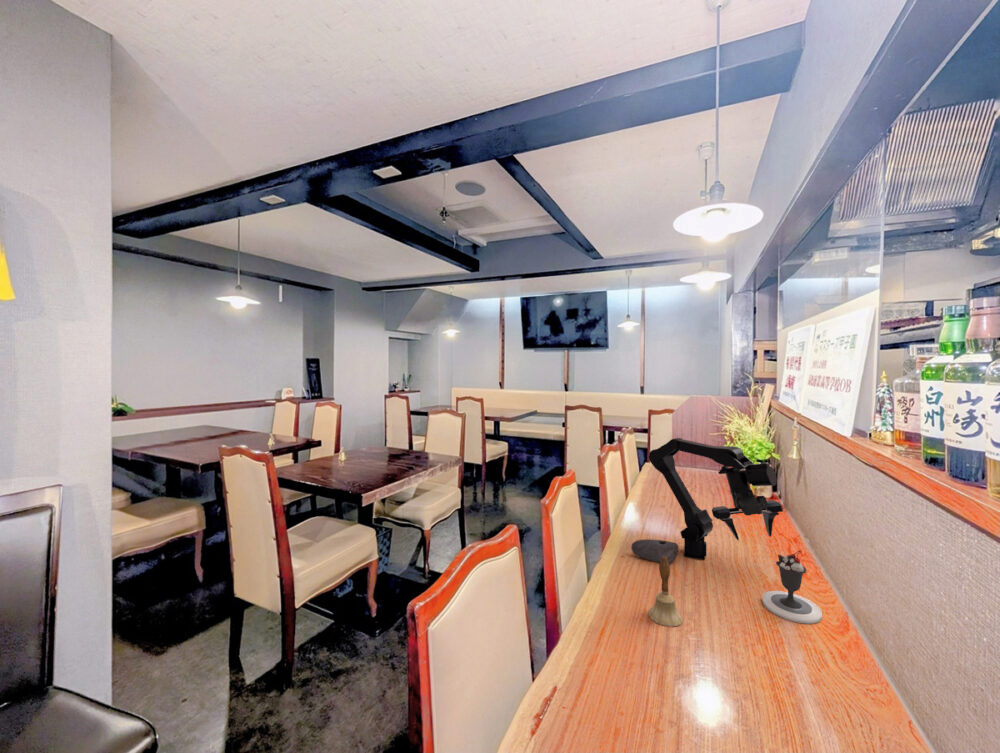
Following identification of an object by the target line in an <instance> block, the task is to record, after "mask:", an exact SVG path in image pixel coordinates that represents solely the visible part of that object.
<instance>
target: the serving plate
mask: <svg viewBox="0 0 1000 753" xmlns="http://www.w3.org/2000/svg"><path fill="white" fill-rule="evenodd" d="M787 597H788V591H783V590H769V591H765V592H764V593H763V594H762V596H761V600H762V604H763V606H764V608H765V609H766V610H768V611H769V612H771V613H772V614H774V615H775V616H776V617H777V616H778V617H779V618H781V619H784V620H787V621H791V622H794V623H798V624H806V625H812V624H817V623H820V622H821V621H822V618H823V617H822V616H823V615H822V614H823V612H822V609H821V608H820V607H819V606H818V605H817V604H815V602H814V601H812V600H809V599H808V598H806V597H804V596H801V595H799V594H795V593H793V597H794V600H796V601H798V602H799V603H800V604H801V605H802V607H801V608H799V609H795V608H790V607H787V606H785V605H783V604H782V603H781V602H780V598H787Z"/></svg>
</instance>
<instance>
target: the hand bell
mask: <svg viewBox="0 0 1000 753" xmlns="http://www.w3.org/2000/svg"><path fill="white" fill-rule="evenodd" d="M659 576H660V578H661V592H659V593H657V594H656V596H655V602H654V605H653V606H652V607H650V609H649V610H648V617H649V616H650V617H649V618H650V619H651V620H652V621H653V622H654V623H656V624H657V623H658V624H657V625H660V626H662V625H664V626H663V627H666V626H676V627H678V626H679V627H680V626H681V624H683V621H684V620H683V617H682V615H681V613H680V612H679V611H678V610H677V607H676V600H675V598H674V596H673V594H670V591H669V590H670V589H669V578H670V576H671V566H670V563H669V562H668V559H667V557H666V556H662V559H661V562H659Z"/></svg>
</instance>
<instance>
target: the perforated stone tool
mask: <svg viewBox="0 0 1000 753" xmlns="http://www.w3.org/2000/svg"><path fill="white" fill-rule="evenodd" d="M631 552H632V553H633V554H634V555H636V556H637V557H639V558H641V559H644V560H645V559H646V560H648V561H653V562H656V563H660V562H661V559H662V556H666V557H667V559H668V562H669V564H672V563H673V562H675V560H676V558H677V557H678V555H679V545H678V544H677V543H676V542H672V541H667V540H663V539H662V540H660V539H650V538H649V539H648V538H647V539H638V540H635V541H634V542H632V544H631Z"/></svg>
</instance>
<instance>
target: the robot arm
mask: <svg viewBox="0 0 1000 753" xmlns="http://www.w3.org/2000/svg"><path fill="white" fill-rule="evenodd" d="M679 452H683V453H686V454H687V453H688V454H691V455H696V456H700V457H704V458H708V459H710V460H712V461H714V462H715V463H717V464H719V465H722V466H721V468H720V470H719V471H718V474H719V475H724V474H725V477H726V480H727V483H728V486H729V493H730V494H731V498H732V502H733V507H731V508H730V507H729V508H728V507H727V506H725V505H722V506H713V507H712V508H711V512H712V515H713V517H714V518H715V519H717V520H720V521H722V522H723V523H725V525H726V526H727V527H728V528H729V530H730V532H731V533H732V535H733V536H734V538H735V539H736V540H737V541H739V540H740V539H739V534H738V532H737V529H736V526H735V524H734V519H733V518H732V517H731V516H732V515H737V514H738V515H739V514H744V515H745V516H748V517H749V516H752V515H762V517H763V521H764V526H765V529H766V532H767V535H768V537H769V538H771V537H772V534H773V524H774V523H773V522H774V519H775V518H776V516H779V514H780V513H781V512H784V509H783V506H782V504H781V502H779V501H776V500H774V499H769V500H767V497H766V496H765V495H758V496H755V495H754V492H753V490H752V489H751V485H752V487H771V486H772V487H773V486H774V487H775V486H777V484H778V483H777V482H778V481H777V480H778V479H777V478H778V477H777V473H776V472H775V470H774V469H773V467H772V466H771V465H770V462H761V463H754V462H753V461H752V460H751V459H750V458H748V457H747V456H746V455H745V454H744V452H743V450H742V449H741V448H740V447H738V446H732V445H731V446H729V445H720V446H718V445H716V446H715V445H711V444H710V445H709V444H705V443H701V442H697V441H693V440H692V441H691V440H687V439H683V438H681V437H676V438H672V439H670V440H669V441H668V442H667V443H664V444H663V445H662V446H660V447H658V448H655V449H652V450H650V452H649V453H648V460H649V462H650V463H651V465H652V466H653V467H654V469H655V470H657V471H658V472H659V473H661V474H662V475H663V477H664V479H665V481H666V483H667V484H668V486H669V488H670V490H671V491H672V493H673V495H674V498H675V499H676V501H677V502H678V504H679V506H680V507H681V510H682V511H683V517H684V523H685V526H686V528H683V529H682V530H681V531H680V532H679V533H680V536H681V539H683V540H684V543H683V544H684V548H683V556H684V557H685V558H686V557H687V558H692V559H697V560H702V561H705V560H706V557H707V542H706V541H705V537H708V534H710V533H711V532H712V531H713V528H714V524H713V520H714V519H712V518H711V516H710V514H709V513H708V510H707V509H706V508H705V509H701V508H699V506H698V505H697V504H696V502H695V500H694V499H693V497H692V495H691V494H690V491H689V490H688V489H687V486H686V485H685V483H684V481H683V480H682V478H681V476H680V475H679V473H678V472H677V470H676V461H675V459H674V456H675V455H676V454H678V453H679Z"/></svg>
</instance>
